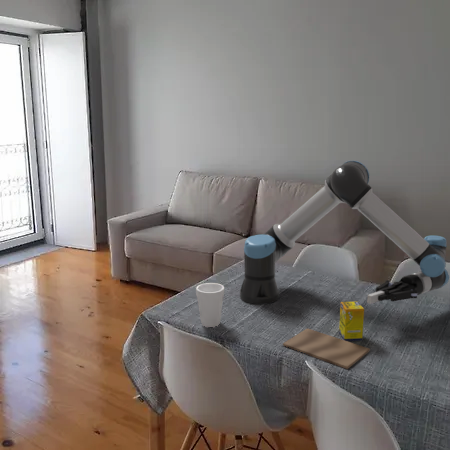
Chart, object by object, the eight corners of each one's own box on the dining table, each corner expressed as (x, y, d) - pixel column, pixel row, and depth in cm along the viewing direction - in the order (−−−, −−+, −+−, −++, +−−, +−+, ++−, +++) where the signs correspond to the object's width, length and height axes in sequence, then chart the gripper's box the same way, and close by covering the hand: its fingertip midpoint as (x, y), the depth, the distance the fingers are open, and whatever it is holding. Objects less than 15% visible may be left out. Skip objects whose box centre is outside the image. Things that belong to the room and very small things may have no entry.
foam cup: (228, 320, 176) (228, 284, 173) (219, 331, 168) (218, 294, 164) (202, 316, 179) (202, 281, 176) (192, 327, 171) (191, 291, 168)
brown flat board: (282, 345, 157) (282, 343, 157) (307, 330, 167) (307, 328, 167) (347, 369, 143) (347, 366, 143) (369, 351, 153) (369, 348, 153)
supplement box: (338, 333, 165) (340, 301, 163) (356, 332, 166) (358, 301, 163) (344, 341, 160) (345, 309, 157) (362, 340, 160) (364, 308, 158)
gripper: (430, 300, 173) (384, 317, 160) (398, 289, 183) (353, 303, 171) (432, 279, 171) (386, 294, 158) (399, 269, 182) (354, 282, 169)
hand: (369, 299), depth 164 cm, fingers closed
